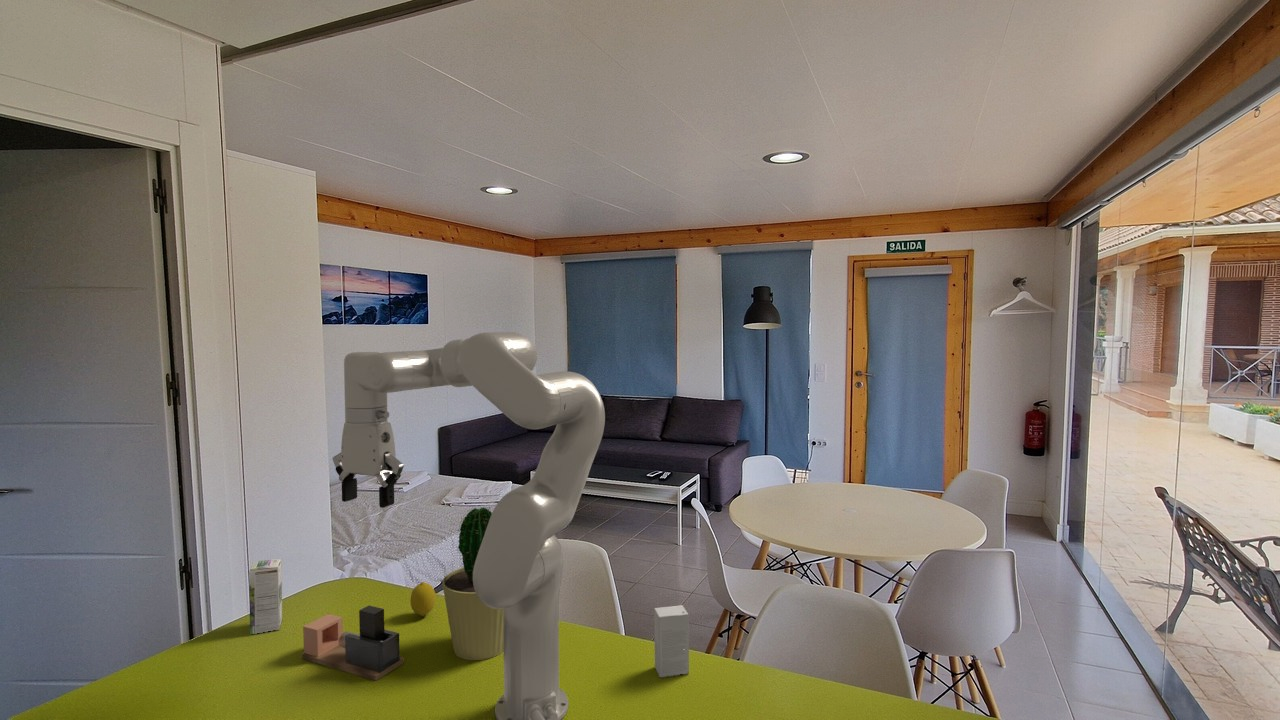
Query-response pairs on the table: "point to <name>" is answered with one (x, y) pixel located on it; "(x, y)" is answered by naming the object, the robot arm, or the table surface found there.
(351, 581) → the table surface
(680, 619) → the skincare box
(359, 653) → the dark grey open box
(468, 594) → the potted cactus
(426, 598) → the lemon
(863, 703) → the table surface
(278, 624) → the syrup box
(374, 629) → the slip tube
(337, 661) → the base board
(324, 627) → the socket block
